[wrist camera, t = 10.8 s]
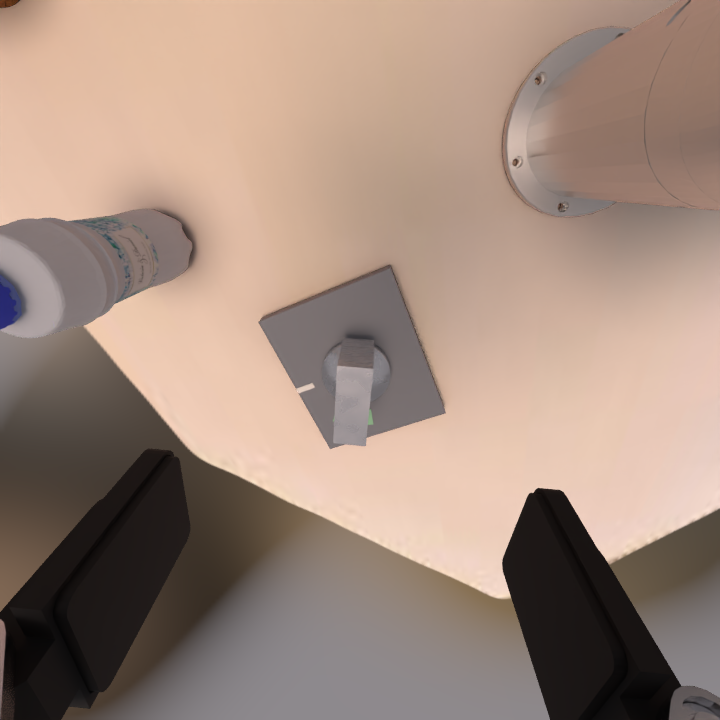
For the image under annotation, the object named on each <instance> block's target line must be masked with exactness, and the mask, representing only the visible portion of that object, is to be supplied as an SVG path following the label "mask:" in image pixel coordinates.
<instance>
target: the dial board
mask: <svg viewBox="0 0 720 720" xmlns="http://www.w3.org/2000/svg"><path fill="white" fill-rule="evenodd" d="M259 324H260V326H261V328H262V329H263V331H264V333H265V335H266V336H267V338H268V340H269V342H270V343H271V345H272V347H273V349H274V351H275V352H276V354H277V356H278V358H279V359H280V361H281V363H282V365H283V366H284V368H285V370H286V372H287V374H288V375H289V377H290V379H291V381H292V382H293V384H294V386H295V388H296V390H297V392H298V393H299V395H300V397H301V398H302V400H303V402H304V404H305V405H306V407H307V409H308V411H309V412H310V414H311V416H312V418H313V420H314V421H315V423H316V425H317V427H318V428H319V430H320V432H321V434H322V435H323V437H324V439H325V441H326V442H327V444H328V446H329V448H330V449H332V448H335V447H338V446H341V445H344V444H336V443H333V435H334V415H335V397H334V396H333V395H331V394H330V393H329V391H328V390H327V389H326V387H325V385H324V383H323V380H322V367H323V363H324V360H325V357H326V355H327V354H328V352H329V351H330V350H331V349H332V348H333V347H334V346H336V345H337V344H339V343H341V342H342V341H343V338H353V339H365V340H374V345H376V346H377V347H379V348H380V349H381V350H382V351H383V352H384V354H385V355H386V357H387V358H388V361H389V364H390V374H391V375H390V382H389V385H388V387H387V389H386V390H385V392H384V393H383V394H382V395H381V396H380V397H379V398H377V399H376V400H374V401H372V402H370V408H369V418H368V428H367V437H370V436H373V435H377V434H380V433H383V432H386V431H390V430H393V429H396V428H399V427H402V426H406V425H409V424H412V423H415V422H419V421H422V420H425V419H428V418H432V417H435V416H438V415H441V414H444V413H446V412H445V409H444V405H443V403H442V400H441V398H440V395H439V392H438V390H437V387H436V384H435V382H434V379H433V377H432V374H431V371H430V369H429V366H428V363H427V361H426V358H425V355H424V353H423V350H422V348H421V345H420V342H419V340H418V337H417V334H416V332H415V329H414V327H413V324H412V321H411V319H410V316H409V313H408V311H407V308H406V305H405V303H404V300H403V298H402V295H401V292H400V290H399V287H398V284H397V282H396V279H395V277H394V274H393V271H392V269H391V266H390V265H388V266H386V267H384V268H381V269H379V270H376V271H374V272H371V273H369V274H366V275H364V276H362V277H359V278H357V279H354V280H352V281H349V282H347V283H345V284H342V285H340V286H337V287H335V288H332V289H330V290H327V291H325V292H323V293H320V294H318V295H315V296H313V297H310V298H308V299H305V300H303V301H301V302H298V303H296V304H293V305H291V306H288V307H286V308H284V309H281V310H279V311H276V312H274V313H271V314H269V315H266V316H264V317H262V318H261V320H260V321H259Z"/></svg>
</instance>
